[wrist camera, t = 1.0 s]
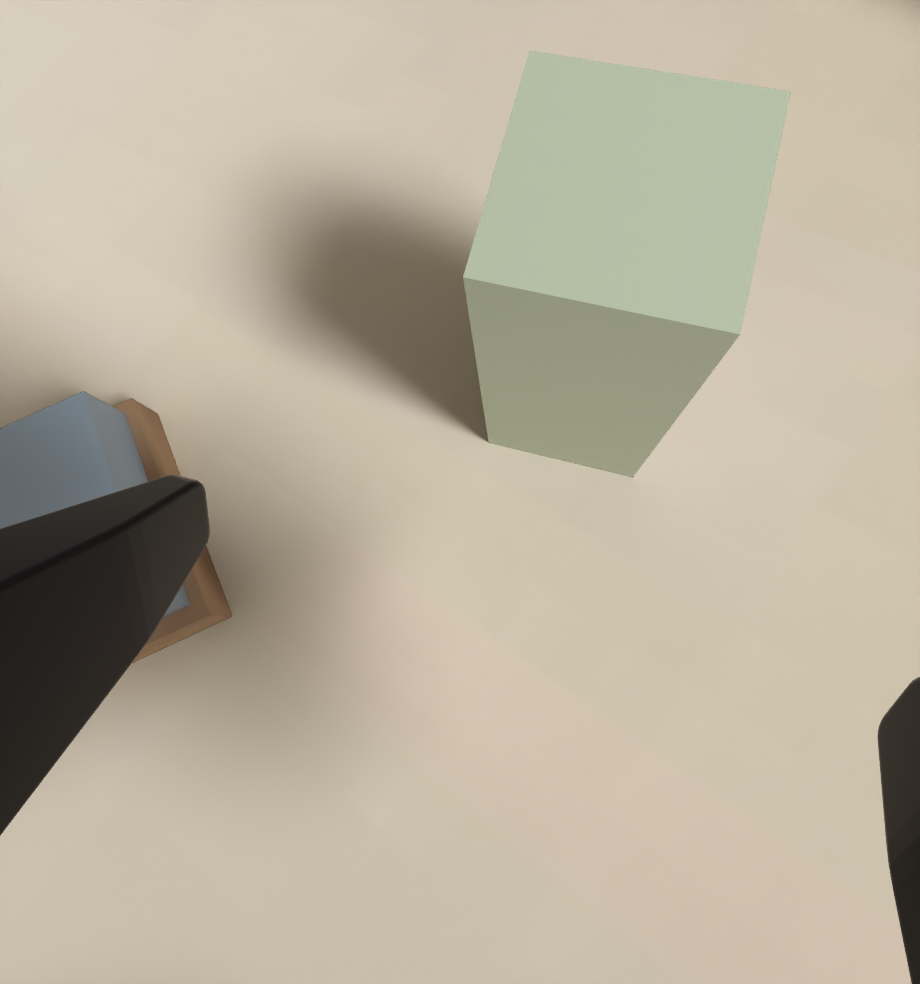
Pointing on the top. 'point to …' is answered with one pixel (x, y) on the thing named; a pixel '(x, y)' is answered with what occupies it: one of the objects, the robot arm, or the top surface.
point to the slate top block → (68, 461)
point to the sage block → (615, 253)
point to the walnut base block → (202, 579)
